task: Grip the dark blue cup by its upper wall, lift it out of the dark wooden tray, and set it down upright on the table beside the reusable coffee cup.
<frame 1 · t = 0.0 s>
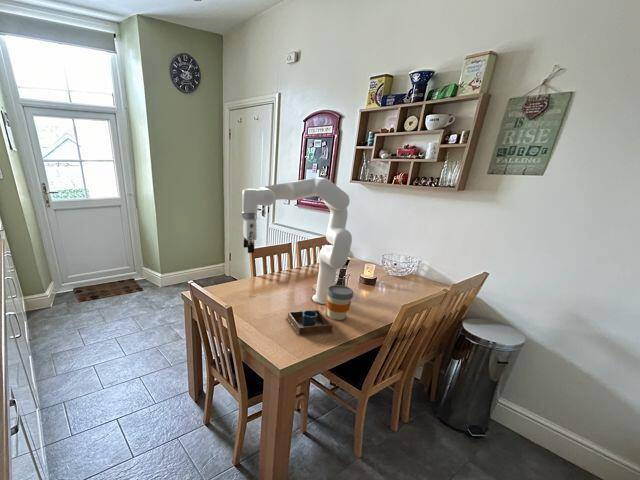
hand: (248, 249, 166), 31 cm above the table, tool pointing down, fingers open, 9 cm apart
dark wooden tray: (308, 325, 160), on the table
reusable coffee cup: (336, 316, 169), on the table
dark blue cup: (308, 324, 159), point 1 cm above the table, touching dark wooden tray
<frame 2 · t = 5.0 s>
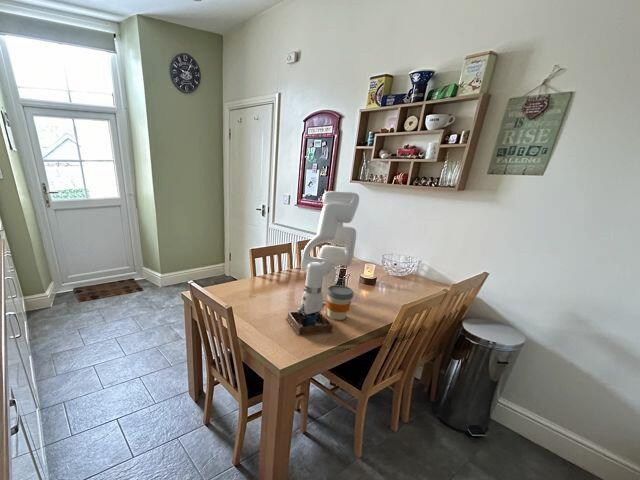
hand: (309, 322, 159), 2 cm above the table, tool pointing down, fingers closed on dark blue cup, 7 cm apart
dark blue cup: (308, 324, 159), point 1 cm above the table, touching dark wooden tray, gripper
everything else where it was.
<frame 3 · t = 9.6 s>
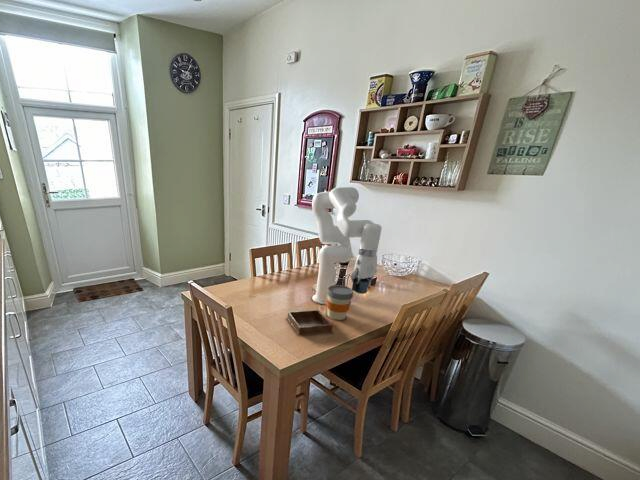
hand: (360, 289, 152), 20 cm above the table, tool pointing down, fingers closed on dark blue cup, 7 cm apart
dark blue cup: (360, 291, 152), point 18 cm above the table, touching gripper
everything else where it was.
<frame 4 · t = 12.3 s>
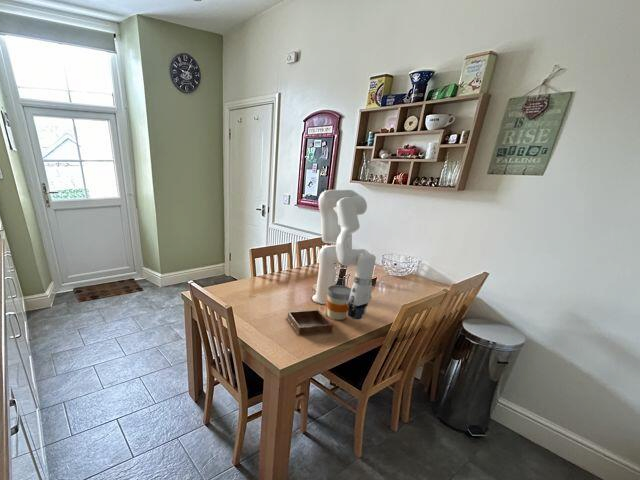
hand: (356, 314, 157), 6 cm above the table, tool pointing down, fingers closed on dark blue cup, 7 cm apart
dark blue cup: (356, 317, 158), point 5 cm above the table, touching gripper
everything else where it was.
when the fingers open (1 cm above the table, at t = 14.2 s): dark blue cup stays where it is, on the table.
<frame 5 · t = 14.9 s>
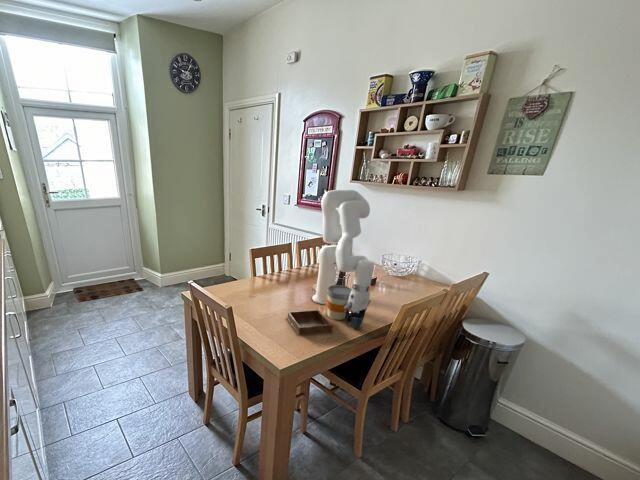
hand: (354, 319, 159), 4 cm above the table, tool pointing down, fingers open, 9 cm apart
dark blue cup: (354, 326, 160), on the table
everything else where it was.
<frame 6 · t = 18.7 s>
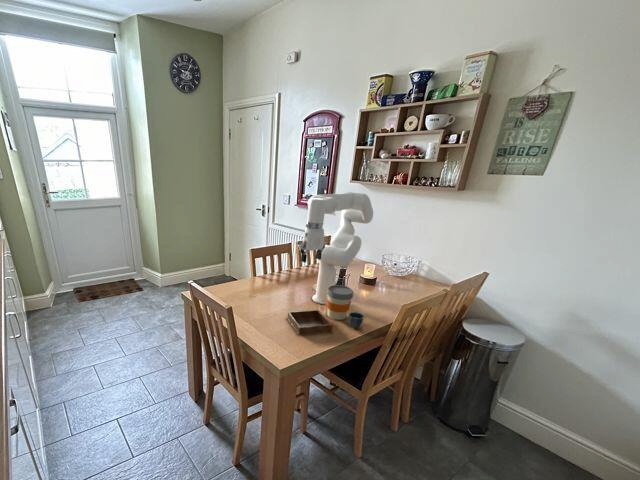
hand: (310, 260, 162), 28 cm above the table, tool pointing down, fingers open, 9 cm apart
nothing on the table moved.
at the end: dark blue cup inside the target area (0.3 cm from its centre), on the table; dark blue cup 12.0 cm from the reusable coffee cup (horizontally); dark blue cup tilted 0° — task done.
